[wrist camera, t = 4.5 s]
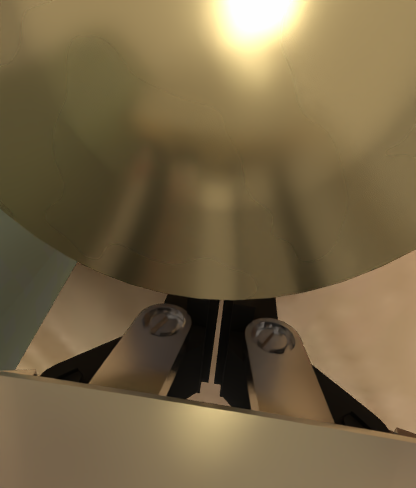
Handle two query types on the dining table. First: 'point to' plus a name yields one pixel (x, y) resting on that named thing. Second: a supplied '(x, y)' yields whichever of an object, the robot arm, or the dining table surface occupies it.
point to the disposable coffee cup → (26, 287)
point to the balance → (212, 139)
